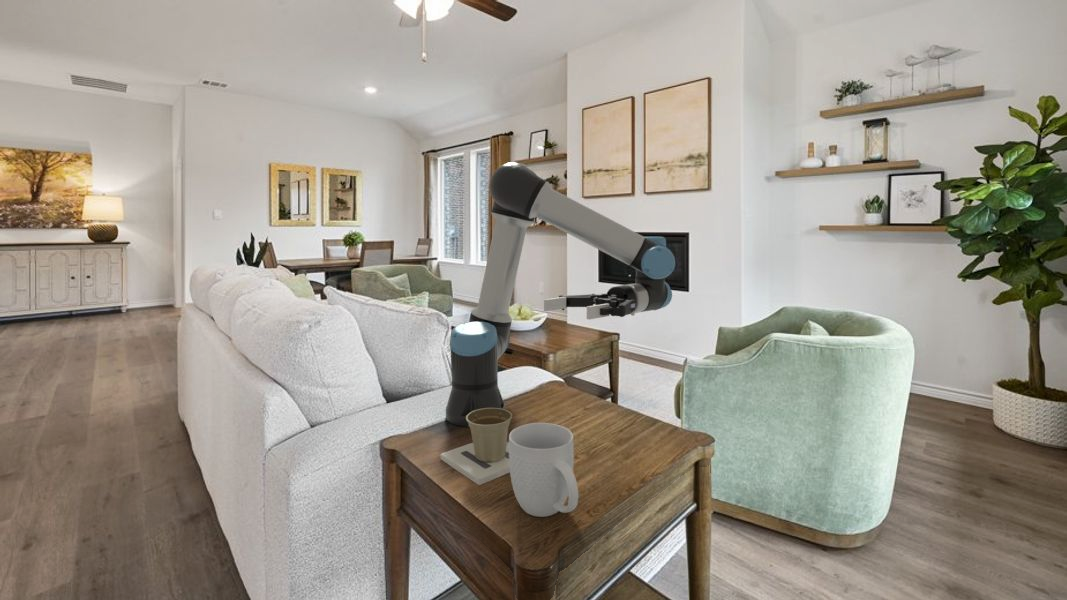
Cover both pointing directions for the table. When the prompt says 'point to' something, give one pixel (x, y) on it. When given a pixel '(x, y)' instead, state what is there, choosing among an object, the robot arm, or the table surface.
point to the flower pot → (489, 432)
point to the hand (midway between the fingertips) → (565, 309)
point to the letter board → (476, 464)
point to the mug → (543, 468)
